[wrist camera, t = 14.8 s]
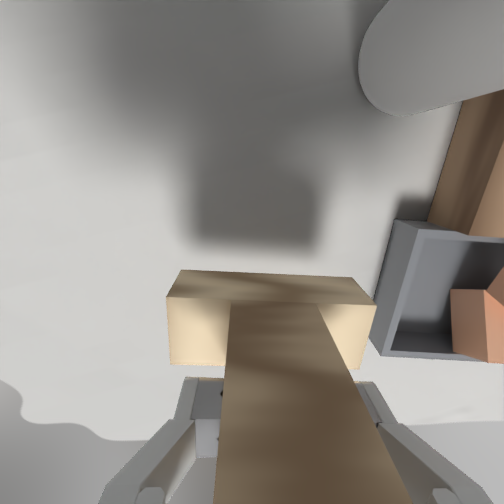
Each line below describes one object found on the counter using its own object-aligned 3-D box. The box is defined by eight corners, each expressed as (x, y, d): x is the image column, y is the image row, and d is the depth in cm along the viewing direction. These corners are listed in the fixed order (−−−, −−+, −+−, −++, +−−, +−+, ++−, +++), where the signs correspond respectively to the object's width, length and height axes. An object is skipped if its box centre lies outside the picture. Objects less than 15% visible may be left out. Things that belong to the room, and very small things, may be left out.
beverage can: (426, -32, 14) (1038, -708, 3) (473, 70, 16) (983, -141, 5) (333, 54, 16) (532, -206, 5) (385, 139, 18) (623, 102, 6)
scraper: (183, 327, 16) (36, 742, 5) (181, 269, 14) (-39, 665, 3) (339, 332, 16) (548, 719, 5) (352, 277, 15) (678, 643, 4)
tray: (365, 332, 23) (380, 356, 20) (394, 219, 19) (418, 228, 17) (536, 341, 23) (575, 366, 20) (596, 232, 20) (653, 244, 17)
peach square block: (483, 289, 18) (449, 289, 21) (488, 362, 17) (452, 351, 20) (551, 293, 18) (508, 292, 21) (559, 366, 17) (513, 354, 20)
